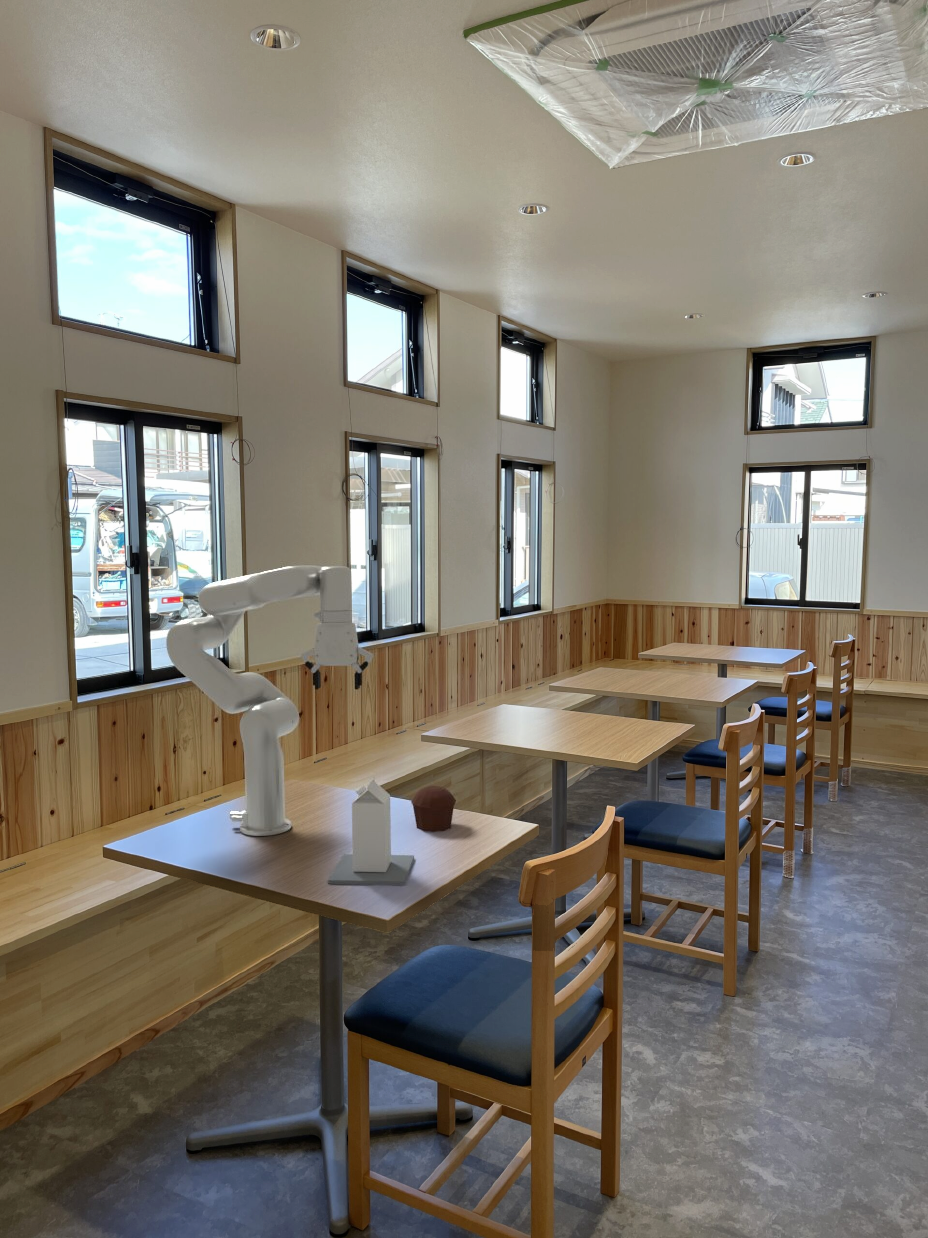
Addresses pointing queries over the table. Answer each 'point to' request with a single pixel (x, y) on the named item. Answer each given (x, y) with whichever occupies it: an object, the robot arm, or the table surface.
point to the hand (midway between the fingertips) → (337, 688)
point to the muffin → (433, 808)
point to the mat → (392, 876)
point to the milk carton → (371, 829)
